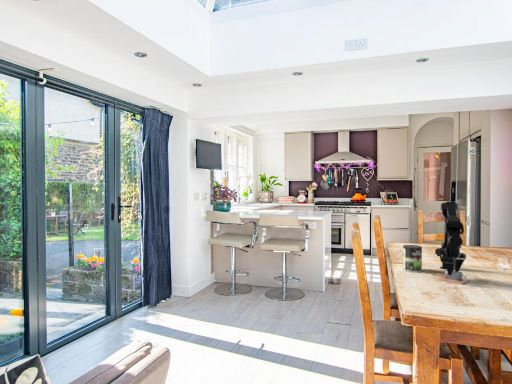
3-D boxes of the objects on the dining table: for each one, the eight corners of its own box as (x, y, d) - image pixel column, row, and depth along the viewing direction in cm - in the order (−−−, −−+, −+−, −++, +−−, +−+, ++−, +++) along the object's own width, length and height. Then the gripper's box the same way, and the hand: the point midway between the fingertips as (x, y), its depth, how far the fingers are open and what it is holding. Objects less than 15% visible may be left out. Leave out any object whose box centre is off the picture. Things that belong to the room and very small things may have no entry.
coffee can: (425, 271, 211) (426, 247, 210) (410, 272, 208) (410, 248, 208) (413, 267, 221) (413, 244, 220) (399, 268, 218) (399, 245, 218)
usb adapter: (443, 278, 193) (443, 270, 193) (446, 277, 195) (446, 269, 195) (464, 281, 185) (464, 274, 185) (467, 280, 188) (467, 272, 188)
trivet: (445, 276, 199) (445, 275, 199) (470, 280, 190) (470, 279, 190) (436, 280, 191) (436, 278, 191) (461, 284, 182) (461, 283, 182)
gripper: (444, 240, 203) (444, 268, 203) (430, 244, 190) (429, 274, 191) (466, 242, 195) (466, 272, 195) (452, 246, 182) (452, 278, 182)
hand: (453, 274), depth 191 cm, fingers open, 9 cm apart
